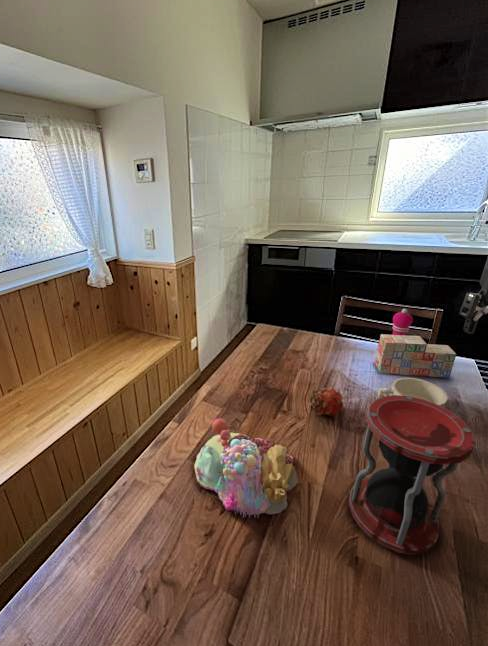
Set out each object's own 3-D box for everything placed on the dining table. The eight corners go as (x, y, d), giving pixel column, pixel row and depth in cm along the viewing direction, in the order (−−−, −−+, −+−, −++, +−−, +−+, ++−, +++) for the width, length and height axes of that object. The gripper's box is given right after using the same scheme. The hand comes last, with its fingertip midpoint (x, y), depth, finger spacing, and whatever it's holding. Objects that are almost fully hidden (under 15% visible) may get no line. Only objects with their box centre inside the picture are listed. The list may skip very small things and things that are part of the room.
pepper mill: (408, 359, 124) (421, 309, 116) (398, 365, 120) (410, 314, 112) (389, 351, 129) (400, 303, 121) (378, 357, 126) (388, 308, 118)
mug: (431, 394, 105) (435, 379, 103) (451, 423, 93) (456, 408, 91) (370, 388, 109) (373, 374, 107) (382, 416, 97) (386, 401, 95)
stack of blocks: (441, 368, 117) (450, 337, 112) (449, 378, 112) (459, 346, 107) (374, 363, 123) (380, 333, 117) (378, 373, 117) (385, 341, 112)
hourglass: (351, 540, 66) (374, 444, 56) (346, 474, 80) (363, 388, 70) (449, 567, 61) (493, 467, 51) (425, 492, 75) (456, 402, 64)
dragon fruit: (309, 424, 98) (331, 411, 105) (334, 422, 91) (356, 408, 99) (298, 395, 100) (321, 385, 107) (323, 391, 93) (345, 380, 100)
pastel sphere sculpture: (298, 446, 88) (301, 419, 85) (296, 532, 68) (300, 500, 64) (206, 430, 96) (205, 404, 92) (180, 502, 76) (177, 472, 72)
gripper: (493, 274, 72) (471, 340, 79) (552, 269, 73) (526, 335, 80) (463, 265, 79) (445, 327, 86) (518, 260, 80) (496, 322, 87)
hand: (484, 330), depth 83 cm, fingers open, 8 cm apart
